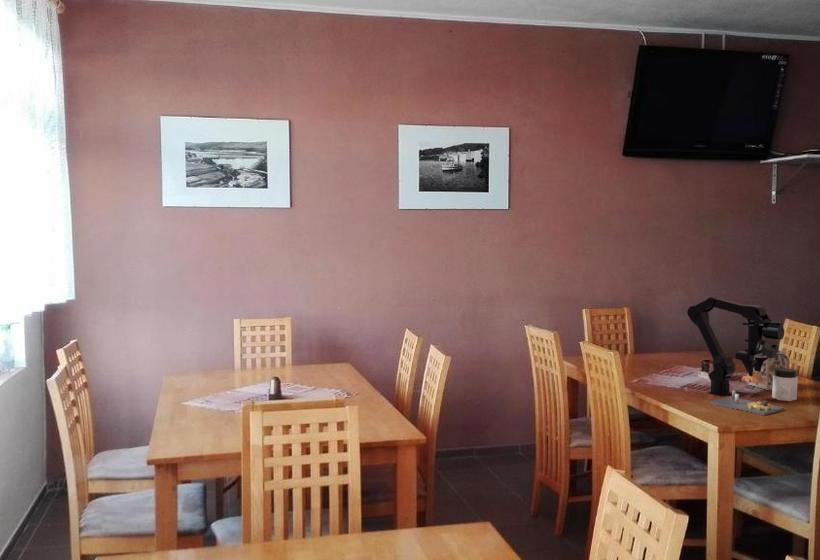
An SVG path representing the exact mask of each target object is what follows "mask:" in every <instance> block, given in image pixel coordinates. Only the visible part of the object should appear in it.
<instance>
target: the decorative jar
mask: <svg viewBox="0 0 820 560" xmlns="http://www.w3.org/2000/svg"><path fill="white" fill-rule="evenodd" d="M778 351H779V353H777V354H776V356H775V357H772V358H769V359H767V360H766V361H764V362H763V365H762V367H761V370H760V372H761V377H762V378H766V382H765V383H752V382H747V386H750V385H752V386H751V387H753V386H755V387H754V388H757V387H759V388H758V389H760V388H762V389H761V390H764V389H765V391H772V387H773V375H774V369H775V368H789V369H790V367H789V366H790V359H789V357H788V356H787V355H786V353H784V351H782V350H778ZM767 358H768V357H767ZM753 371H755V370H754V369H753Z"/></svg>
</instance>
